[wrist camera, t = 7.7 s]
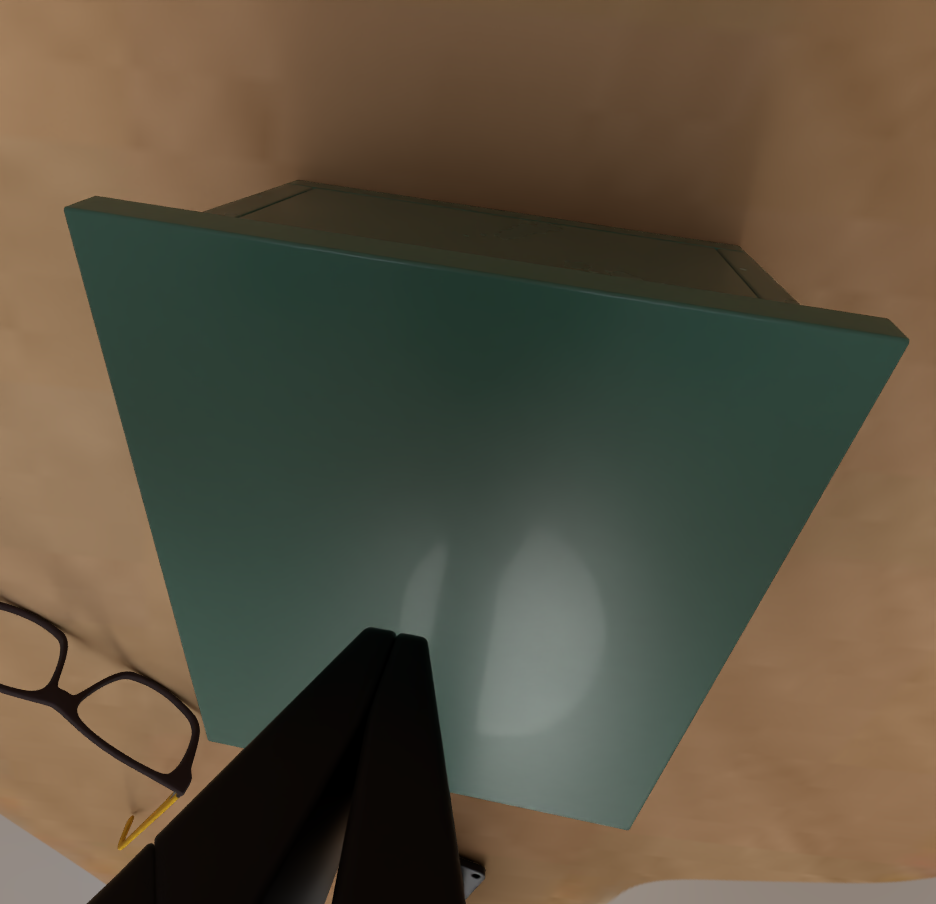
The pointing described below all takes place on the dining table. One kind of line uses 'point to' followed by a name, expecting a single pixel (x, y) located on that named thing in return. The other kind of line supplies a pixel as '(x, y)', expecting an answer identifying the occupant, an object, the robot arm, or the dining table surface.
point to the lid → (466, 478)
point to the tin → (511, 237)
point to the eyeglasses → (68, 709)
